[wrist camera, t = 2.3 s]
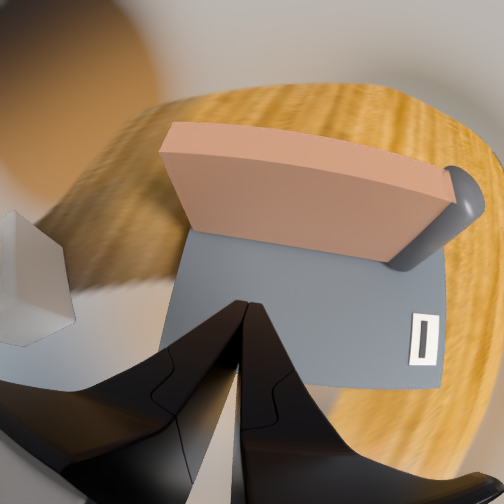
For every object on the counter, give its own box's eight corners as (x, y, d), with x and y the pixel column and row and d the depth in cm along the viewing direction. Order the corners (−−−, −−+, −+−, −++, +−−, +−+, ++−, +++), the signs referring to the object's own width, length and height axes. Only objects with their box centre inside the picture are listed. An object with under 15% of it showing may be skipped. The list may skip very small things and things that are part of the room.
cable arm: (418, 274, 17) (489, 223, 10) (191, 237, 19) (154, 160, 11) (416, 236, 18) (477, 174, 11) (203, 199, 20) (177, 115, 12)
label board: (432, 387, 15) (441, 388, 14) (162, 354, 17) (156, 354, 16) (432, 209, 21) (438, 202, 20) (213, 169, 22) (211, 159, 21)
